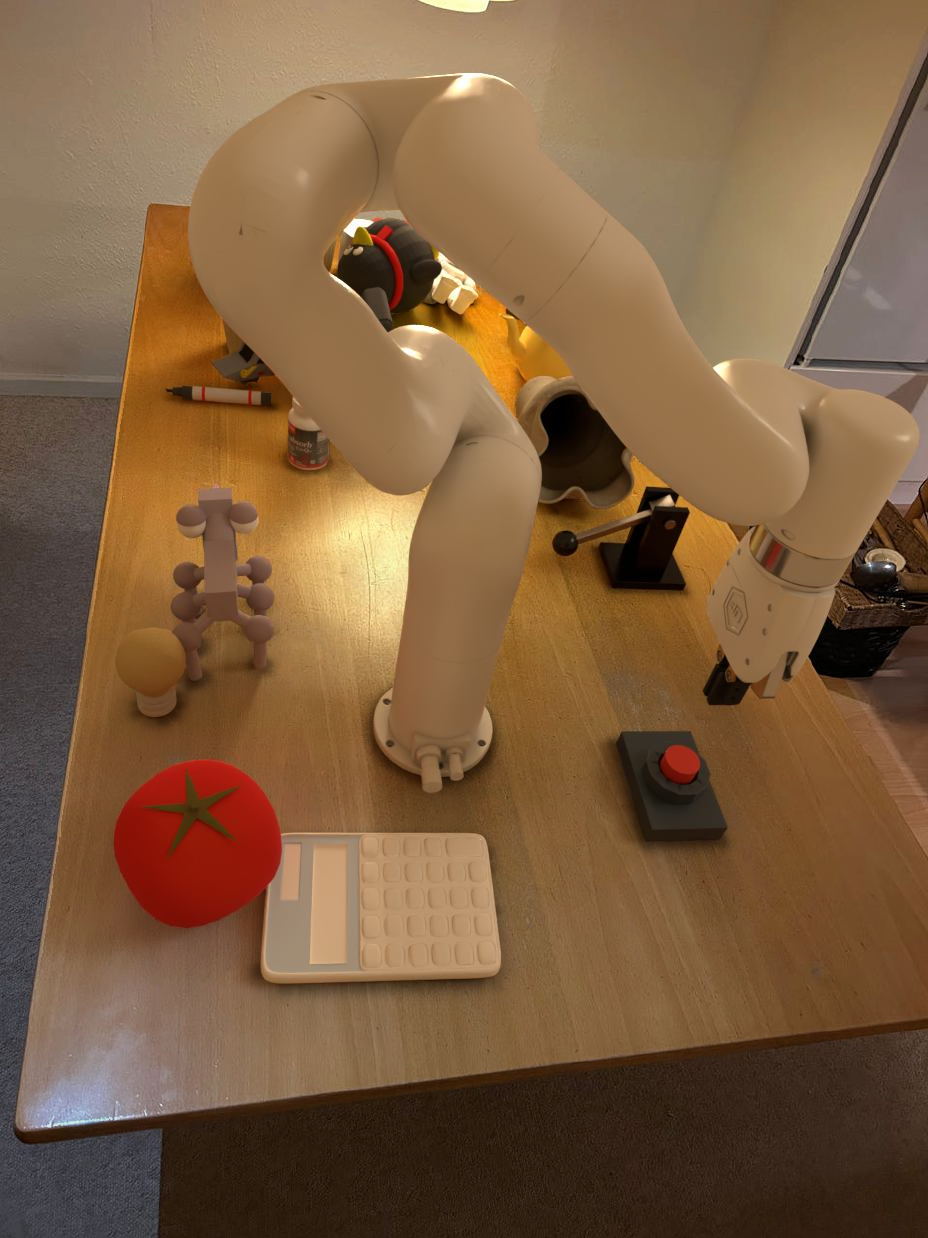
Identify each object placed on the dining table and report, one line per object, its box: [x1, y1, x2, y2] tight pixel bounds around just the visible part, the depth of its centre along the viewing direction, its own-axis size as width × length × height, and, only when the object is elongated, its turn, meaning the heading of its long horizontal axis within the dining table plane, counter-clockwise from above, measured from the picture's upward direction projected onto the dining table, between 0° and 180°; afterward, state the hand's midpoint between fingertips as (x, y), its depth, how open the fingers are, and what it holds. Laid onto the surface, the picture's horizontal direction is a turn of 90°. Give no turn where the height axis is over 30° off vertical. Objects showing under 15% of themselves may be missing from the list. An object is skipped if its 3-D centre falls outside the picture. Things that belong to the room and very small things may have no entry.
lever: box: [551, 495, 676, 558], centre depth 109 cm, size 16×3×3 cm, turn 97°
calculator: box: [260, 832, 502, 984], centre depth 75 cm, size 13×20×2 cm, turn 95°
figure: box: [430, 252, 479, 315], centre depth 166 cm, size 13×8×25 cm
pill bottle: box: [286, 396, 330, 471], centre depth 118 cm, size 6×6×10 cm
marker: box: [164, 385, 273, 407], centre depth 127 cm, size 15×2×2 cm, turn 96°
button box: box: [615, 730, 728, 842], centre depth 88 cm, size 12×8×4 cm, turn 7°
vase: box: [514, 376, 636, 510], centre depth 125 cm, size 22×22×28 cm
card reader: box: [361, 287, 395, 332], centre depth 132 cm, size 9×4×15 cm, turn 12°
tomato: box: [112, 758, 282, 930], centre depth 71 cm, size 13×14×12 cm
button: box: [660, 745, 700, 784], centre depth 86 cm, size 4×4×2 cm
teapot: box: [498, 313, 573, 383], centre depth 143 cm, size 14×20×13 cm
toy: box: [336, 217, 442, 315], centre depth 152 cm, size 20×16×20 cm
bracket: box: [597, 485, 691, 591], centre depth 111 cm, size 10×8×12 cm
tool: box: [211, 342, 276, 387], centre depth 133 cm, size 5×25×15 cm, turn 134°
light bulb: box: [114, 626, 187, 718], centre depth 84 cm, size 6×6×10 cm
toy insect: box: [170, 482, 275, 682], centre depth 93 cm, size 20×11×14 cm, turn 12°
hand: (720, 698), depth 79 cm, fingers closed
